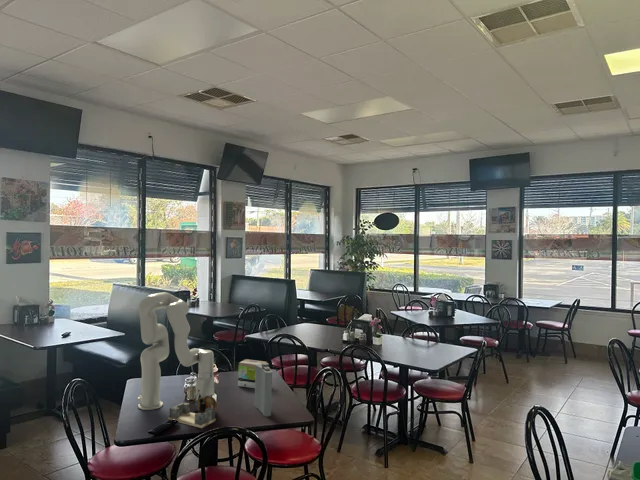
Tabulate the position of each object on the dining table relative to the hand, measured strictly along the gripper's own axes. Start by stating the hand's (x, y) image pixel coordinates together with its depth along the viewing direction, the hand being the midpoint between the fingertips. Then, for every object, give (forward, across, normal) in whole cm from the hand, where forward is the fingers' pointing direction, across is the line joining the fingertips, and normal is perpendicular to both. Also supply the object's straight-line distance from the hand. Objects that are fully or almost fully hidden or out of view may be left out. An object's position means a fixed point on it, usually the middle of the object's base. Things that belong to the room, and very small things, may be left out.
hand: (204, 409), depth 245 cm
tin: (+2, 0, 0) cm, 2 cm away
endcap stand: (+1, +12, +2) cm, 12 cm away
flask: (+1, -17, +25) cm, 30 cm away
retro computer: (+2, -49, -4) cm, 49 cm away
